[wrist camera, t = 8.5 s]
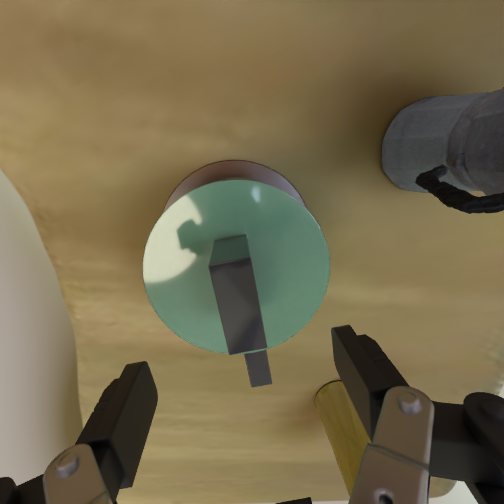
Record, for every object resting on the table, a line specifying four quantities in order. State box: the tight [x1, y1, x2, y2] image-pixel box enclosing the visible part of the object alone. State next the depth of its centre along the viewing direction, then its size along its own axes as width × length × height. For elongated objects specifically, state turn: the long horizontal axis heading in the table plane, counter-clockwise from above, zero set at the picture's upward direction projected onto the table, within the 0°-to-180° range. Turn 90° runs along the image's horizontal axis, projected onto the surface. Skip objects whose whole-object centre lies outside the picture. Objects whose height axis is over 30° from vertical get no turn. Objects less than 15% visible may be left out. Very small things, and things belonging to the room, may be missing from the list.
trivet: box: [162, 160, 307, 214], centre depth 31 cm, size 16×16×1 cm
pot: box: [142, 176, 330, 387], centre depth 25 cm, size 19×14×15 cm
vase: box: [315, 381, 371, 497], centre depth 32 cm, size 6×6×14 cm
